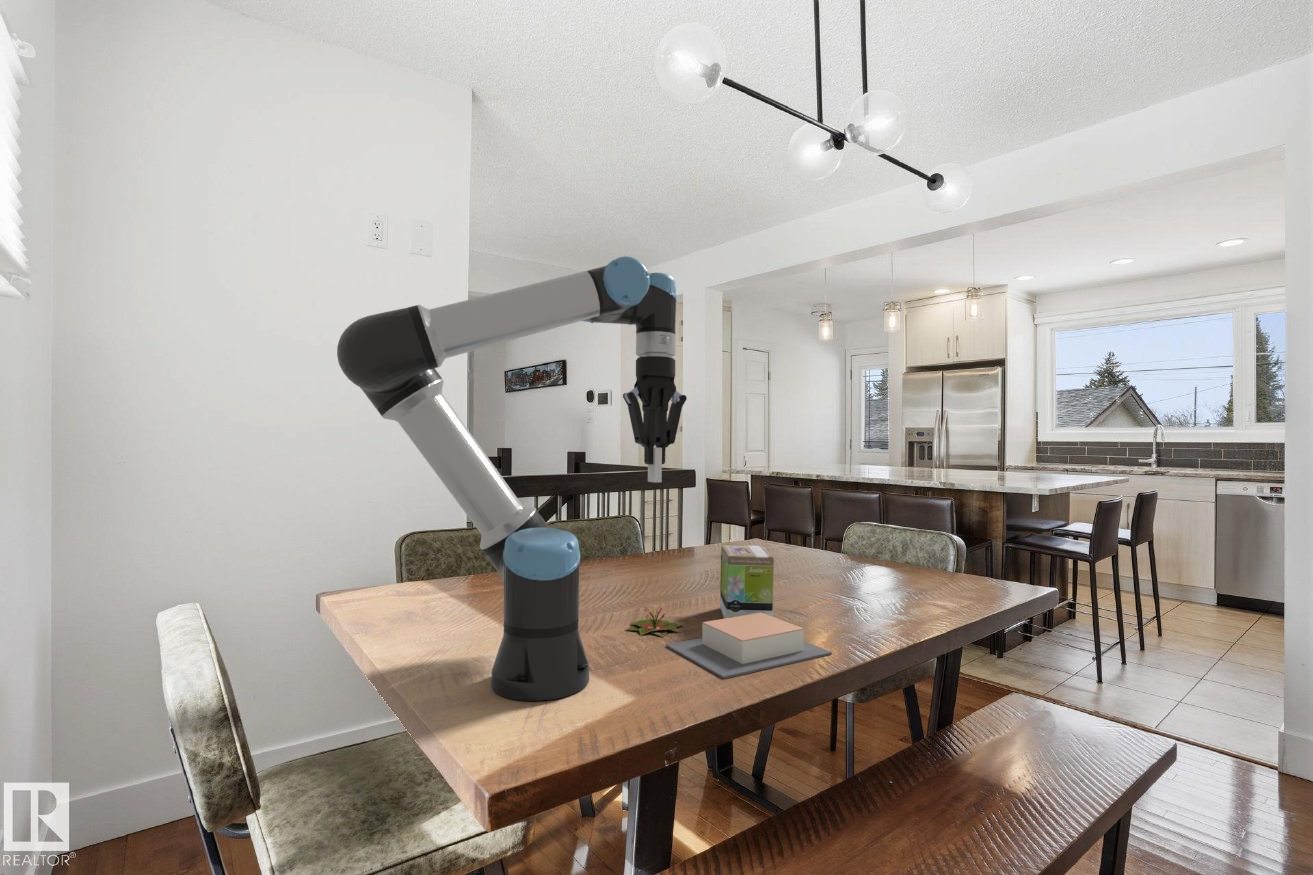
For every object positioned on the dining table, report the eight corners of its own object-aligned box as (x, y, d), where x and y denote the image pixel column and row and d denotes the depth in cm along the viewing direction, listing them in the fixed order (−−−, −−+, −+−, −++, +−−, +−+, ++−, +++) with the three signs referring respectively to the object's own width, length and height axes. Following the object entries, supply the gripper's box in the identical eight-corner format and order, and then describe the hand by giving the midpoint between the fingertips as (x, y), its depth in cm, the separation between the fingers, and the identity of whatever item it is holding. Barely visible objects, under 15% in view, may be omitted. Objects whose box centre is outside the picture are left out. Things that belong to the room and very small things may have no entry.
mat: (723, 678, 100) (723, 676, 100) (665, 646, 115) (665, 644, 115) (831, 654, 112) (831, 651, 112) (766, 627, 127) (766, 625, 127)
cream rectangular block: (742, 640, 105) (803, 628, 112) (702, 622, 116) (761, 612, 123) (742, 663, 105) (803, 650, 112) (702, 643, 116) (760, 632, 123)
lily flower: (693, 627, 129) (694, 605, 129) (666, 643, 118) (666, 619, 118) (643, 618, 135) (644, 597, 135) (613, 633, 124) (613, 610, 124)
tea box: (774, 628, 127) (775, 556, 127) (725, 627, 127) (725, 555, 128) (763, 608, 142) (763, 543, 142) (719, 607, 142) (719, 543, 143)
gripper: (634, 352, 111) (633, 484, 111) (695, 357, 118) (694, 482, 118) (616, 357, 118) (614, 481, 117) (674, 361, 124) (673, 479, 124)
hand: (654, 481), depth 117 cm, fingers closed
